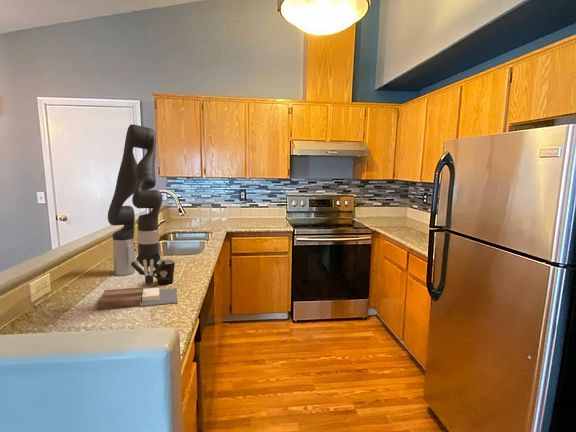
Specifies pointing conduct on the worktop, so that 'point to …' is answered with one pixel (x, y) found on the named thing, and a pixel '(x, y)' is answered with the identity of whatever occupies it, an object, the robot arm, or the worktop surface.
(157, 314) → the worktop surface
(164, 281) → the coffee mug
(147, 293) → the cream rectangular block
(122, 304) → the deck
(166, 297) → the mat
